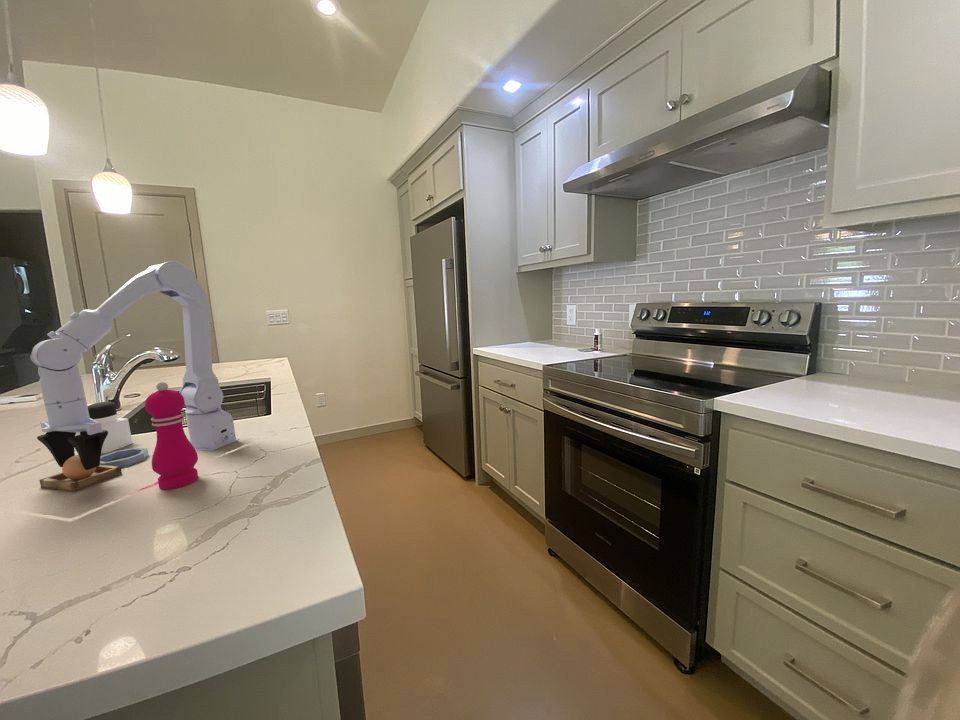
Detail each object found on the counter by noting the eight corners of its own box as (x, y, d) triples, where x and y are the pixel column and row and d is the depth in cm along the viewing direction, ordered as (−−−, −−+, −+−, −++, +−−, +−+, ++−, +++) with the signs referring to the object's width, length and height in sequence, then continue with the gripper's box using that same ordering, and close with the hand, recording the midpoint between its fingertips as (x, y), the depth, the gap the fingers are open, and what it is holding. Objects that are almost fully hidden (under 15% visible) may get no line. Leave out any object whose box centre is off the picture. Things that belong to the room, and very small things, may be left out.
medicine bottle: (133, 444, 105) (125, 399, 104) (106, 455, 98) (96, 406, 97) (108, 445, 106) (99, 400, 104) (79, 455, 99) (69, 407, 97)
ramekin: (156, 457, 95) (155, 449, 95) (113, 473, 87) (111, 464, 86) (130, 455, 98) (128, 447, 97) (85, 470, 89) (84, 461, 89)
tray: (122, 475, 85) (120, 466, 85) (75, 494, 78) (72, 484, 77) (90, 472, 88) (88, 463, 88) (41, 489, 81) (39, 479, 80)
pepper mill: (177, 491, 76) (158, 386, 73) (145, 490, 78) (126, 386, 75) (210, 475, 83) (194, 378, 80) (180, 473, 85) (163, 378, 82)
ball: (105, 474, 84) (100, 451, 84) (76, 485, 80) (71, 460, 79) (88, 472, 86) (83, 449, 85) (58, 483, 81) (53, 459, 80)
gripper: (14, 405, 79) (30, 472, 81) (64, 407, 74) (79, 477, 76) (61, 396, 85) (74, 458, 87) (108, 397, 81) (121, 462, 83)
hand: (79, 466), depth 82 cm, fingers open, 7 cm apart
